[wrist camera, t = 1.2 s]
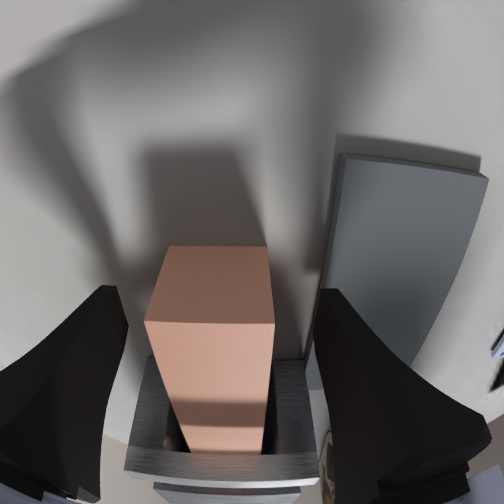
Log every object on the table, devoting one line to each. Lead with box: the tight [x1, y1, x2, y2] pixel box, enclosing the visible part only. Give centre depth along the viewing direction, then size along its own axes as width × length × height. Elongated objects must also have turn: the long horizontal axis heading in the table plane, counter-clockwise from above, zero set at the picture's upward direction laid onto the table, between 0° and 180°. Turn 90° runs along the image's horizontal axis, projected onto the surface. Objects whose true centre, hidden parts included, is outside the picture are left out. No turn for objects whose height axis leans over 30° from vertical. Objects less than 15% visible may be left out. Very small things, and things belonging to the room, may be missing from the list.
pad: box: [304, 154, 489, 390], centre depth 13 cm, size 6×12×1 cm, turn 179°
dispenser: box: [124, 357, 320, 504], centre depth 15 cm, size 8×11×6 cm
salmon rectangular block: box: [144, 246, 275, 455], centre depth 13 cm, size 4×11×4 cm, turn 179°
